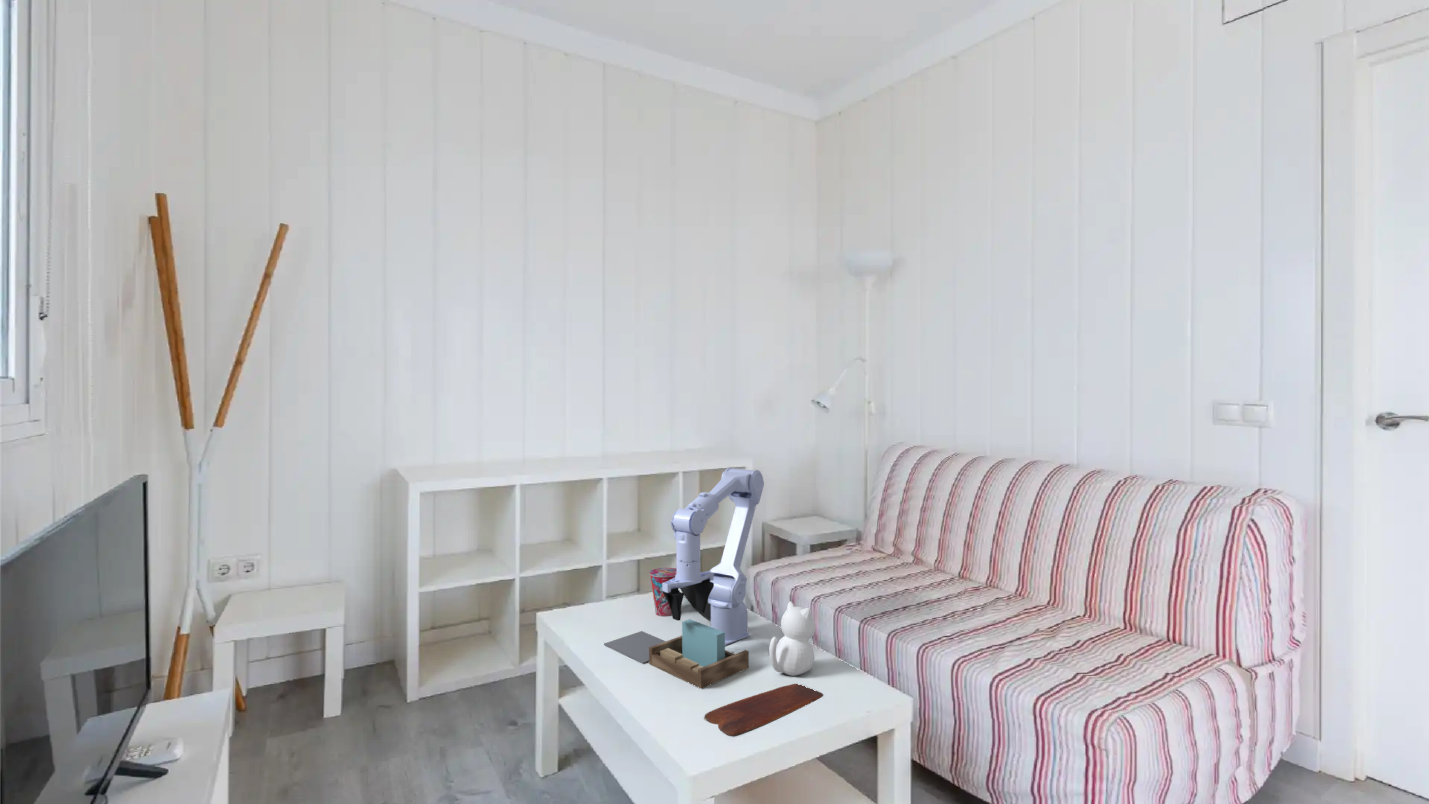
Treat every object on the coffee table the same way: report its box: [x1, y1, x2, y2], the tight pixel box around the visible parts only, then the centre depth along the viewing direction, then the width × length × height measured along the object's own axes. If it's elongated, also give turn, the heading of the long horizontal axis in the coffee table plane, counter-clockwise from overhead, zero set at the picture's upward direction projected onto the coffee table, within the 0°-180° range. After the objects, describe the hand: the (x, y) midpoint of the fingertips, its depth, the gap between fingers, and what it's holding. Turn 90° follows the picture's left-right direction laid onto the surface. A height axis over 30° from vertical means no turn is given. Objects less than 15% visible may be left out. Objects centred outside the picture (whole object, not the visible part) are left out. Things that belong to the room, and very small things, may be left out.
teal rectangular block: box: [681, 618, 726, 667], centre depth 164 cm, size 2×12×9 cm, turn 44°
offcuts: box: [660, 648, 702, 673], centre depth 161 cm, size 2×15×3 cm, turn 44°
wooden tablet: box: [703, 683, 824, 737], centre depth 144 cm, size 27×10×2 cm, turn 128°
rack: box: [648, 635, 750, 689], centre depth 163 cm, size 15×18×4 cm
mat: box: [603, 630, 667, 665], centre depth 175 cm, size 12×16×1 cm
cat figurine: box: [768, 600, 816, 677], centre depth 160 cm, size 9×12×15 cm
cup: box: [649, 567, 677, 617], centre depth 199 cm, size 9×8×12 cm
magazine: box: [679, 585, 711, 622], centre depth 200 cm, size 17×3×30 cm
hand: (688, 615), depth 168 cm, fingers open, 7 cm apart
